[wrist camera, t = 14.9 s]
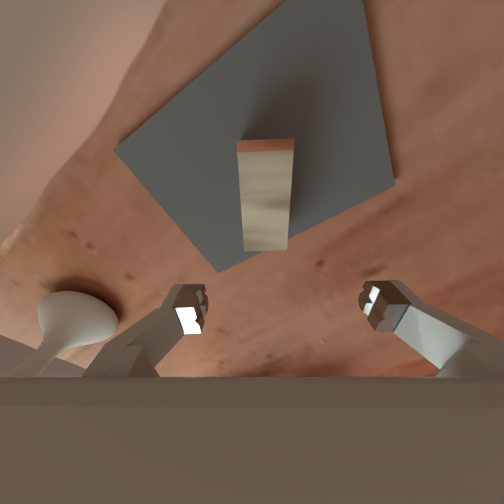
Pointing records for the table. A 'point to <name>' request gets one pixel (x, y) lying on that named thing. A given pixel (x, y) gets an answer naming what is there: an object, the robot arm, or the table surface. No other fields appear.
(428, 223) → the table surface
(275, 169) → the birch block
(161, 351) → the robot arm
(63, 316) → the flower in vase
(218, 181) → the slate mat
